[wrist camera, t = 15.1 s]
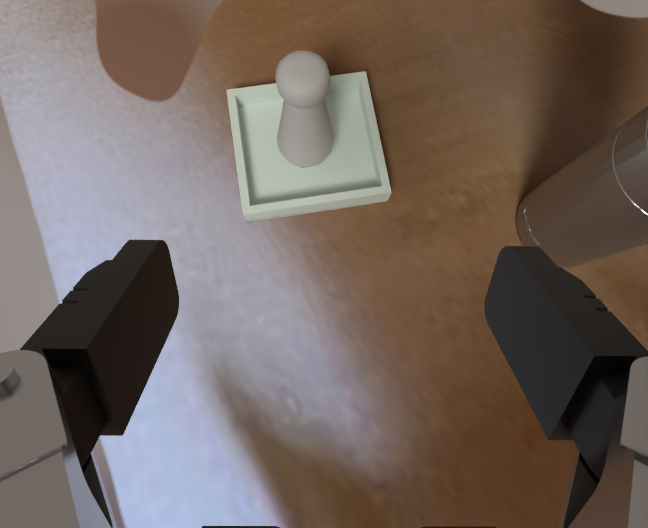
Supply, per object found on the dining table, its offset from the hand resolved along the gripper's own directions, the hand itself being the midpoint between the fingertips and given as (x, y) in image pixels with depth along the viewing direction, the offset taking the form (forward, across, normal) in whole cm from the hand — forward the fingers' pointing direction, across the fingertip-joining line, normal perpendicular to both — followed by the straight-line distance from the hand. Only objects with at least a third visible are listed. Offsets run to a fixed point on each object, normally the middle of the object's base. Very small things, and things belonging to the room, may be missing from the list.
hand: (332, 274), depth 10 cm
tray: (+35, +2, +8) cm, 36 cm away
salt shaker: (+35, +2, +8) cm, 36 cm away
